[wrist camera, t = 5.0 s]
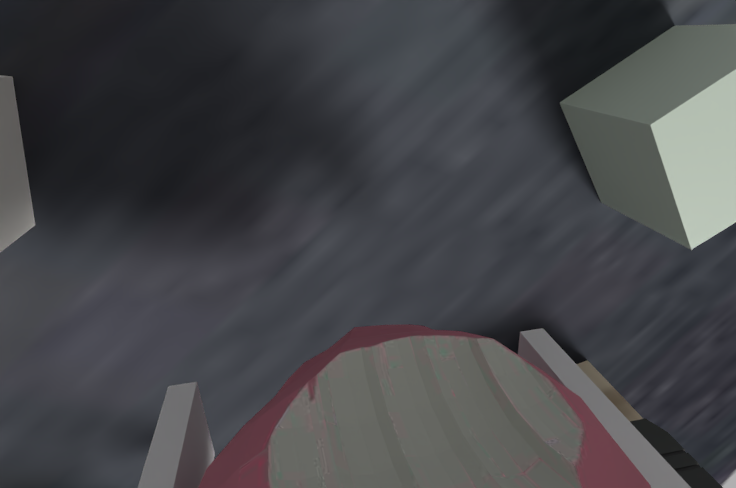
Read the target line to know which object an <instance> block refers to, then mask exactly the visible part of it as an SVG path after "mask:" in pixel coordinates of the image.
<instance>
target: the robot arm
mask: <svg viewBox="0 0 736 488" xmlns="http://www.w3.org/2000/svg"><path fill="white" fill-rule="evenodd" d="M518 355H519V356H521V357H522V358H524V359H526V360H527V361H529V362H530V363H532V364H533V365H535V366H536V367H538V368H539V369H541V370H543V371H544V372H545V373H547V374H548V375H550V376H551V377H552V378H554V379H555V380H557V381H558V382H560V383H561V384H562V385H564V386H565V387H567V388H568V389H570V390H571V391H572V392H574V393H575V394H577V395H578V396H579V397H581V398H582V400H583V401H584V402H585V403H586V405H587V406H588V407H589V409H590V410H591V411H592V412H593V414H594V415H595V416H596V418H597V419H598V420H599V421H600V423H601V424H602V425H603V426H604V428H605V429H606V430H607V432H608V433H609V434H610V435H611V437H612V438H613V439H614V440H615V442H616V443H617V444H618V445H619V447H620V448H621V449H622V450H623V452H624V453H625V454H626V455H627V457H628V458H629V459H630V460H631V462H632V463H633V464H634V465H635V467H636V468H637V469H638V470H639V472H640V473H641V474H642V475H643V477H644V478H645V479H646V480H647V482H648V483H649V484H650V485H651V488H723V487H722V486H721V485H720V484H719V483H718V482H717V481H716V480H715V479H714V478H713V477H712V476H711V475H710V474H709V473H708V472H707V471H706V470H705V469H704V468H703V467H702V468H701V467H700V466H699V463H698V462H697V461H696V460H695V459H694V458H693V457H692V456H691V455H690V454H689V453H686V452H685V449H684V448H683V447H682V446H681V445H680V444H679V443H678V442H677V441H676V440H675V439H674V438H673V437H672V436H671V435H670V434H669V433H668V432H666V431H665V430H663V429H661V428H660V427H658V426H656V425H655V424H653V423H652V422H650V421H648V420H647V419H640V420H634V421H629V420H628V419H627V418H626V417H625V416H624V415H623V414H622V413H621V412H620V411H619V410H618V409H617V407H616V406H615V405H614V404H613V403H612V402H611V401H610V400H609V399H608V398H607V397H606V396H605V395H604V393H603V392H602V391H601V390H600V389H599V388H598V387H597V386H596V385H595V384H594V383H593V382H592V381H591V379H590V378H589V377H588V376H587V375H586V374H585V373H584V372H583V371H582V370H581V369H580V368H579V367H578V365H577V364H576V363H575V362H574V361H573V360H572V359H571V358H570V357H569V356H568V355H567V354H566V353H565V351H564V350H563V349H562V348H561V347H560V346H559V345H558V344H557V343H556V342H555V341H554V340H553V339H552V337H551V336H550V335H549V334H548V333H547V332H546V331H545V330H544V329H543V328H541V329H534V330H528V331H521V332H520V337H519V347H518ZM214 455H215V453H214V449H213V445H212V441H211V437H210V433H209V429H208V425H207V421H206V417H205V413H204V408H203V404H202V400H201V396H200V392H199V388H198V384H197V382H192V383H186V384H179V385H173V386H168V389H167V392H166V396H165V399H164V402H163V406H162V409H161V412H160V416H159V419H158V422H157V426H156V429H155V432H154V436H153V439H152V442H151V445H150V449H149V452H148V455H147V459H146V462H145V465H144V469H143V472H142V475H141V479H140V482H139V485H138V488H198V487H199V485H200V483H201V481H202V478H203V476H204V474H205V471H206V469H207V468H208V467H209V465H210V464H211V463H212V462H213V461H214Z"/></svg>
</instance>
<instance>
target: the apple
mask: <svg viewBox="0 0 736 488" xmlns="http://www.w3.org/2000/svg"><path fill="white" fill-rule="evenodd" d="M198 488H651V485H650V484H649V483H648V482H647V480H646V479H645V478H644V477H643V475H642V474H641V473H640V472H639V470H638V469H637V468H636V467H635V465H634V464H633V463H632V462H631V460H630V459H629V458H628V457H627V455H626V454H625V453H624V452H623V450H622V449H621V448H620V447H619V445H618V444H617V443H616V442H615V440H614V439H613V438H612V437H611V435H610V434H609V433H608V432H607V430H606V429H605V428H604V426H603V425H602V424H601V423H600V421H599V420H598V419H597V418H596V416H595V415H594V414H593V412H592V411H591V410H590V409H589V407H588V406H587V405H586V403H585V402H584V401H583V400H582V398H581V397H579V396H578V395H577V394H575V393H574V392H572V391H571V390H570V389H568V388H567V387H565V386H564V385H562V384H561V383H560V382H558V381H557V380H555V379H554V378H552V377H551V376H550V375H548V374H547V373H545V372H544V371H543V370H541V369H539V368H538V367H536V366H535V365H533V364H532V363H530V362H529V361H527V360H526V359H524V358H522V357H521V356H519V355H518V354H516V353H515V352H513V351H512V350H510V349H509V348H507V347H505V346H504V345H502V344H501V343H499V342H498V341H496V340H495V339H493V338H489V337H484V336H480V335H475V334H471V333H466V332H462V331H447V330H433V329H430V328H428V327H425V326H419V325H379V326H366V327H354V328H353V329H352V330H351V331H350V332H348V333H347V334H346V335H345V336H344V337H342V338H341V339H340V340H339V341H338V342H336V343H335V344H334V345H333V346H332V347H330V348H329V349H328V350H326V351H324V352H322V353H321V354H319V355H317V356H315V357H313V358H312V359H310V360H308V361H306V362H305V363H303V365H302V366H301V367H300V368H299V369H298V370H297V371H296V372H295V373H294V374H293V375H292V376H291V377H290V378H289V379H288V380H287V381H286V383H285V384H284V385H283V387H282V388H281V389H280V390H279V392H278V393H277V394H276V396H275V397H274V398H273V399H272V400H271V401H270V402H269V403H267V404H266V405H265V406H264V407H263V408H262V409H261V410H260V411H259V412H258V413H257V414H256V415H255V416H254V417H253V418H252V419H250V420H249V421H248V422H247V423H246V424H245V425H244V426H243V427H242V428H241V430H240V431H239V432H238V433H237V434H236V435H235V437H234V438H233V439H232V440H231V441H230V442H229V443H228V445H227V446H226V447H225V448H224V449H223V450H222V452H221V453H220V454H219V455H218V456H217V457H216V458H215V460H214V461H213V462H212V463H211V464H210V465H209V467H208V468H207V469H206V471H205V474H204V476H203V478H202V481H201V483H200V485H199V487H198Z"/></svg>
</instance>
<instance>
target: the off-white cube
mask: <svg viewBox="0 0 736 488" xmlns="http://www.w3.org/2000/svg"><path fill="white" fill-rule="evenodd" d="M34 226H35V220H34V213H33V207H32V200H31V194H30V187H29V181H28V174H27V168H26V161H25V155H24V148H23V142H22V135H21V129H20V122H19V116H18V109H17V103H16V96H15V90H14V83H13V77H12V76H3V75H0V252H1V251H3V250H4V249H5V248H7V247H8V246H9V245H10V244H12V243H13V242H14V241H16V240H17V239H18V238H19V237H21V236H22V235H23V234H25V233H26V232H27V231H28V230H30V229H31V228H32V227H34Z"/></svg>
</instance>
